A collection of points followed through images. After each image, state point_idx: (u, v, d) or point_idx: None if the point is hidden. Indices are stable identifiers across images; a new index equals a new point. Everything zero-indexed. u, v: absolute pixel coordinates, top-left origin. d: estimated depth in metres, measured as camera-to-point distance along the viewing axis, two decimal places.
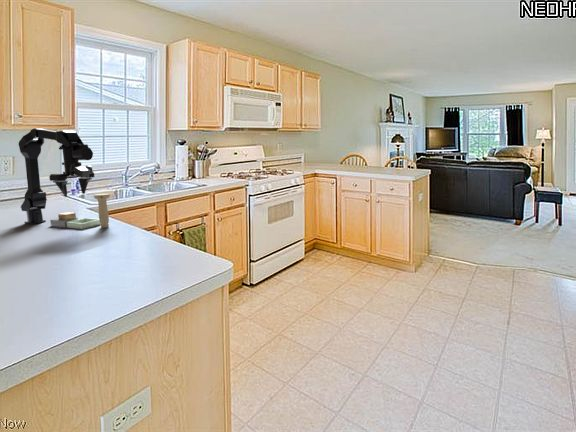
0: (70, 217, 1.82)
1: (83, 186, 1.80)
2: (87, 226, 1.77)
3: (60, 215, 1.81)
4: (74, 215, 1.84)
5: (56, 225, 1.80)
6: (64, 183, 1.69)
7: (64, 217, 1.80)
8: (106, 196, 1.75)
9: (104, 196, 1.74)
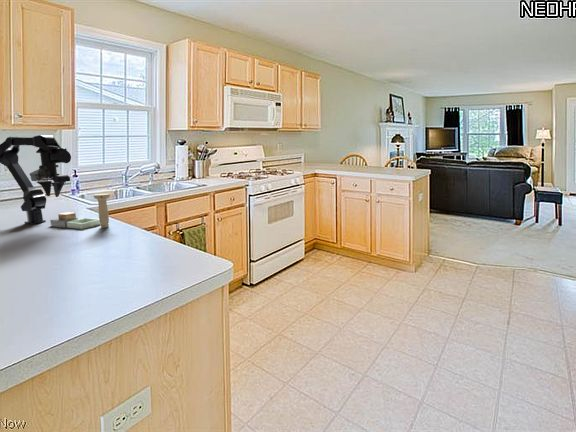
0: (70, 217, 1.82)
1: None
2: (87, 226, 1.77)
3: (60, 215, 1.81)
4: (74, 215, 1.84)
5: (56, 225, 1.80)
6: (40, 184, 1.83)
7: (64, 217, 1.80)
8: (106, 196, 1.75)
9: (104, 196, 1.74)
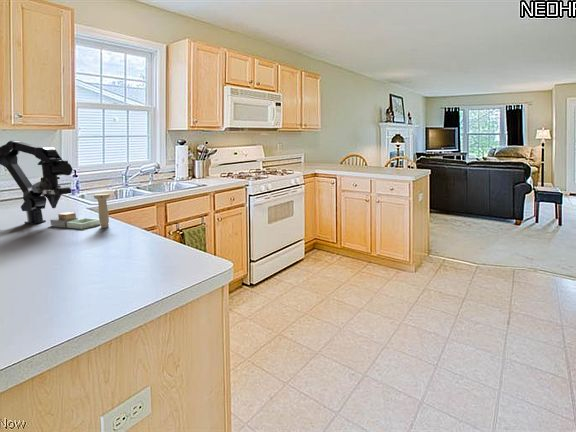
0: (70, 217, 1.82)
1: None
2: (87, 226, 1.77)
3: (60, 215, 1.81)
4: (74, 215, 1.84)
5: (56, 225, 1.80)
6: (45, 196, 1.83)
7: (64, 217, 1.80)
8: (106, 196, 1.75)
9: (104, 196, 1.74)
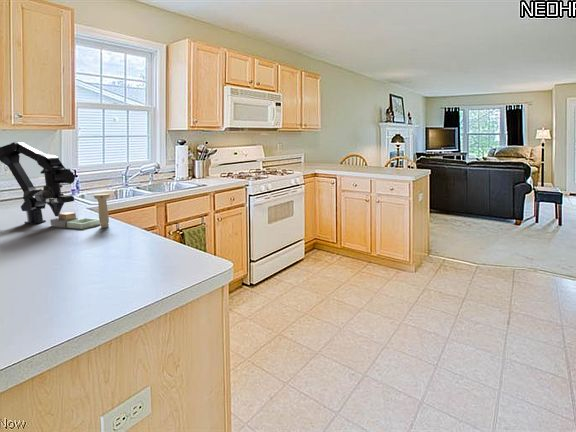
0: (70, 217, 1.82)
1: None
2: (87, 226, 1.77)
3: (60, 215, 1.81)
4: (74, 215, 1.84)
5: (56, 225, 1.80)
6: (48, 204, 1.83)
7: (64, 217, 1.80)
8: (106, 196, 1.75)
9: (104, 196, 1.74)
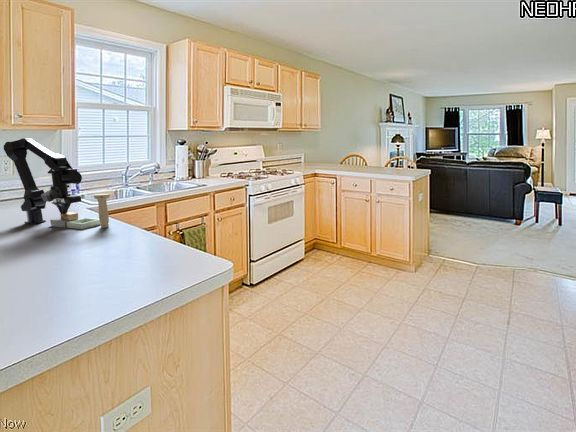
0: (72, 217, 1.81)
1: None
2: (87, 226, 1.77)
3: (62, 215, 1.80)
4: (76, 215, 1.83)
5: (56, 225, 1.80)
6: (55, 204, 1.81)
7: (66, 217, 1.80)
8: (106, 196, 1.75)
9: (104, 196, 1.74)
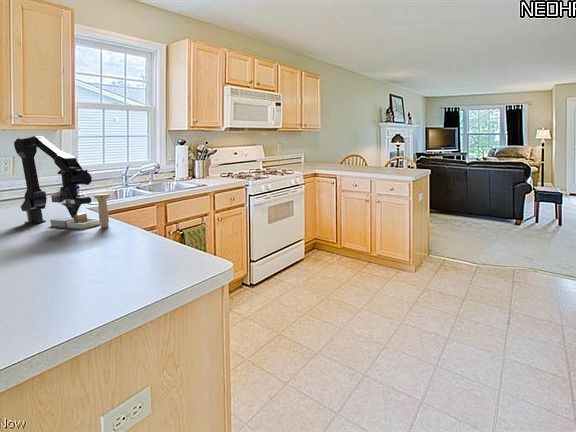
0: None
1: None
2: (87, 226, 1.77)
3: (76, 218, 1.79)
4: None
5: (56, 225, 1.80)
6: (64, 205, 1.79)
7: None
8: (106, 196, 1.75)
9: (104, 196, 1.74)
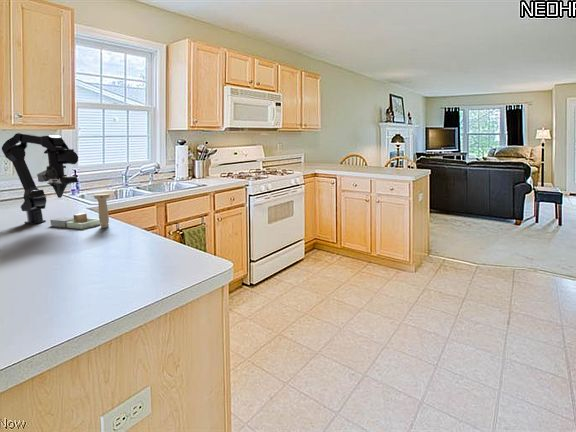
0: None
1: None
2: (87, 226, 1.77)
3: (76, 218, 1.79)
4: None
5: (56, 225, 1.80)
6: (51, 185, 1.80)
7: None
8: (106, 196, 1.75)
9: (104, 196, 1.74)
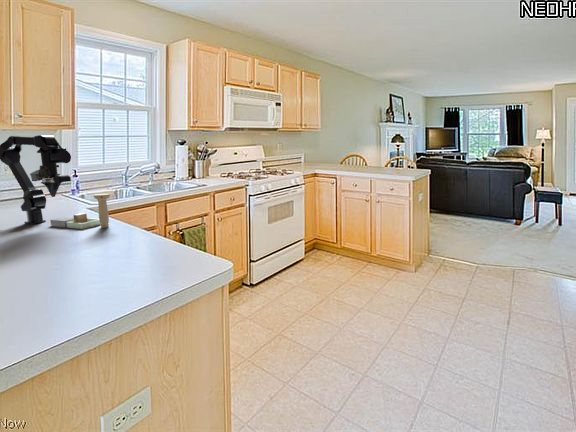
0: None
1: None
2: (87, 226, 1.77)
3: (76, 218, 1.79)
4: None
5: (56, 225, 1.80)
6: (44, 184, 1.81)
7: None
8: (106, 196, 1.75)
9: (104, 196, 1.74)
